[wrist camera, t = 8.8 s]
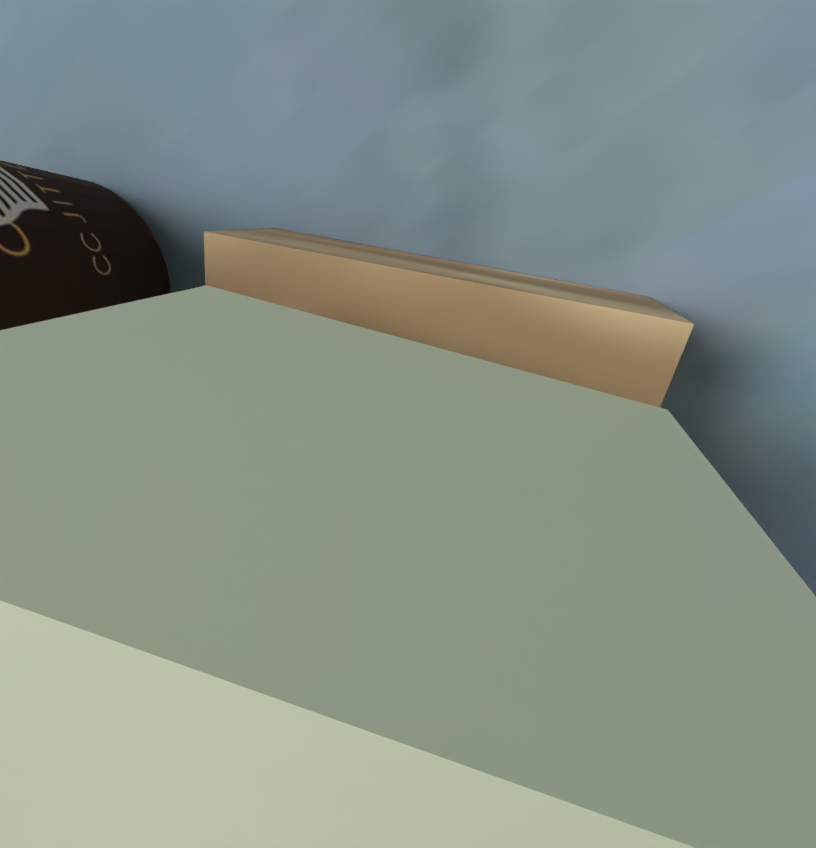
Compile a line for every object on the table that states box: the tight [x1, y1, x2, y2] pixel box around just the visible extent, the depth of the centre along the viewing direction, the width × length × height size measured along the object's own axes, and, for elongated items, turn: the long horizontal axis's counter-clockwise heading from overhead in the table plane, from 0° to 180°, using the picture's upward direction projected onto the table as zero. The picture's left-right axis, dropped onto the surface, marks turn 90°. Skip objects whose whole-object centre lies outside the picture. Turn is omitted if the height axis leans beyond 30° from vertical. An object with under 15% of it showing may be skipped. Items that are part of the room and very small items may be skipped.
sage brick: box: [0, 285, 816, 848], centre depth 9 cm, size 13×10×8 cm
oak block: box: [204, 228, 694, 407], centre depth 16 cm, size 15×12×4 cm
